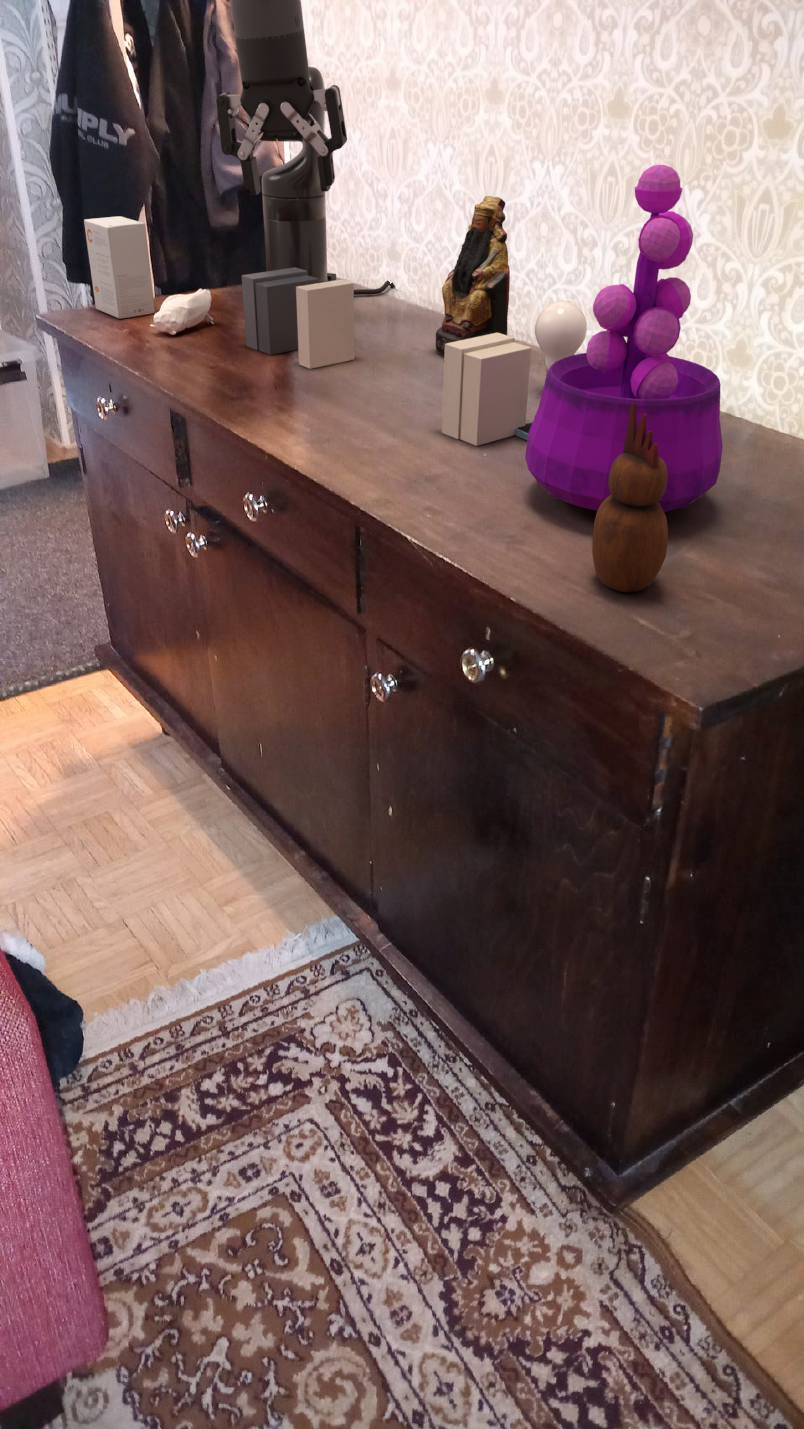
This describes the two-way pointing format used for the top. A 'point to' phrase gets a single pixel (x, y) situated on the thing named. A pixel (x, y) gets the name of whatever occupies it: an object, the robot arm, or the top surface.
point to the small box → (119, 266)
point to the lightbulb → (560, 331)
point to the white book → (325, 323)
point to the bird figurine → (183, 312)
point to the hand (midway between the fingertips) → (290, 191)
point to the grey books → (273, 309)
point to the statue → (478, 279)
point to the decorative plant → (633, 377)
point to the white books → (485, 388)
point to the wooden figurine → (632, 514)
